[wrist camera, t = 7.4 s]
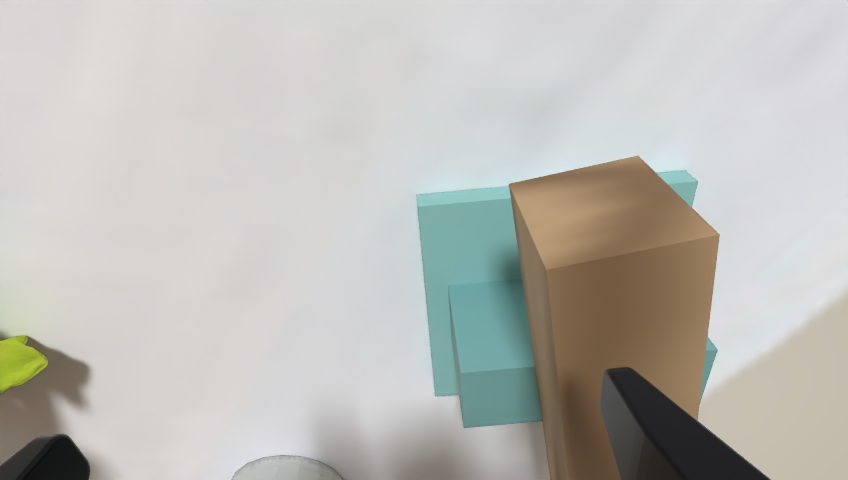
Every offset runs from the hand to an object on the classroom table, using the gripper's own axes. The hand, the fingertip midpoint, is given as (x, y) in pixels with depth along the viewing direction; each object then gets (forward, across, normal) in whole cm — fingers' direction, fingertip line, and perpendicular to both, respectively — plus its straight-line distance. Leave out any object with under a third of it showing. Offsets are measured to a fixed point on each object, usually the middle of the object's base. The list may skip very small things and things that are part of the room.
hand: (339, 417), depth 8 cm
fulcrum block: (+13, -7, +8) cm, 17 cm away
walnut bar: (+7, -7, +8) cm, 13 cm away
